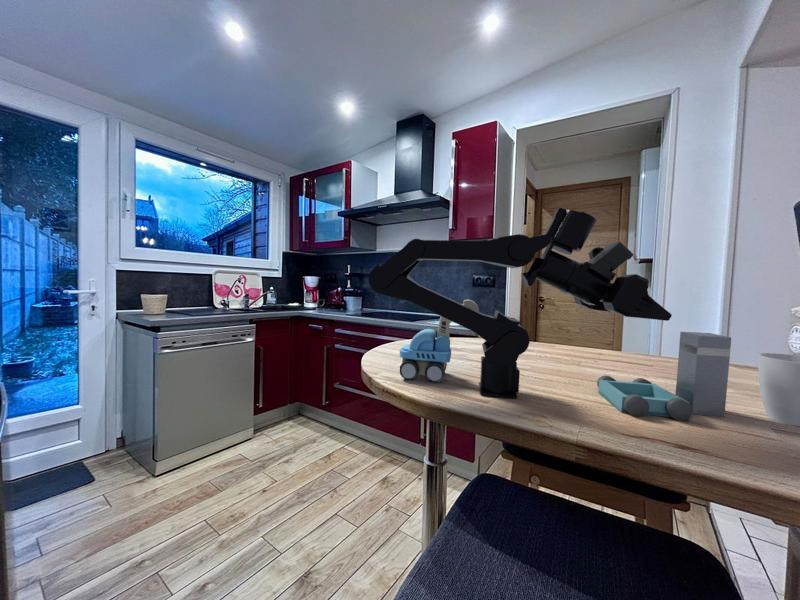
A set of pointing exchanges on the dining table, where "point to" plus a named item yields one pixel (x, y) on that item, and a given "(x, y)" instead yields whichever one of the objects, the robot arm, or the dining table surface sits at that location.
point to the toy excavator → (429, 351)
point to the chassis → (643, 398)
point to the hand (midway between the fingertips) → (653, 314)
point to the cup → (780, 386)
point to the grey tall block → (703, 371)
